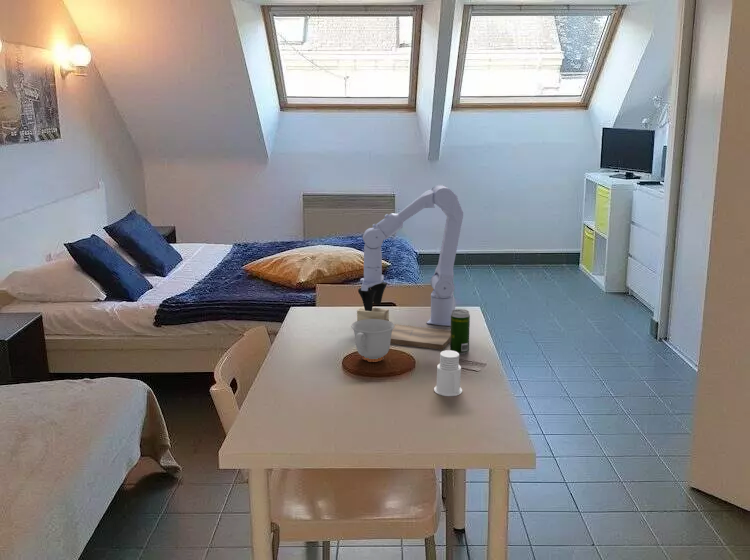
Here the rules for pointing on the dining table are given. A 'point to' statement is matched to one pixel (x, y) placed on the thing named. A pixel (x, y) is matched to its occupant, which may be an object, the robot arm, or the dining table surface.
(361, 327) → the teacup
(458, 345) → the guarana soda can
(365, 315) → the block
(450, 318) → the robot arm
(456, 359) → the downlight
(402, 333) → the board
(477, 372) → the dining table surface
